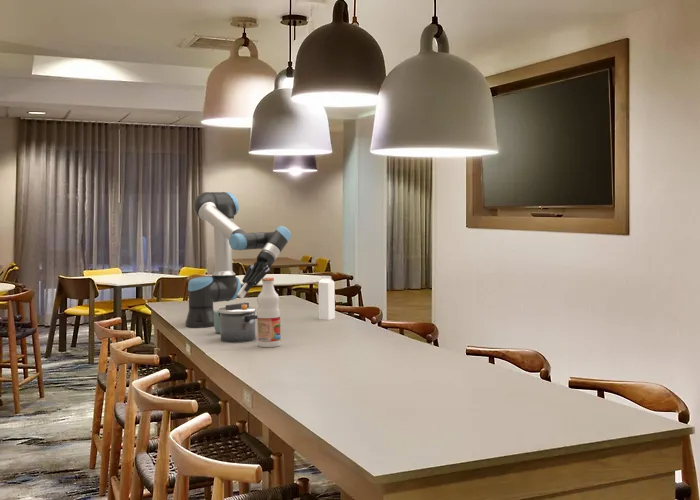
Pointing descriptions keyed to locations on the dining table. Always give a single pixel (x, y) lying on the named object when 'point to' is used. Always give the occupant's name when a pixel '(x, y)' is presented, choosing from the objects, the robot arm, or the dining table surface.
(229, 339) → the cooker pot
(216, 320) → the cup
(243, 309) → the lid
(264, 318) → the fruit juice
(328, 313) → the milk
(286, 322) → the dining table surface
